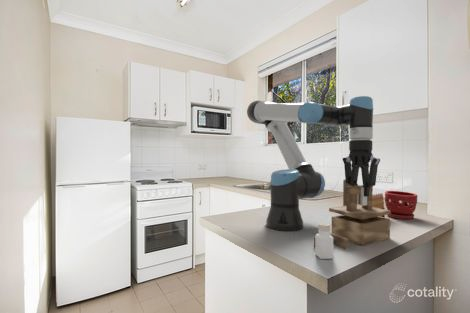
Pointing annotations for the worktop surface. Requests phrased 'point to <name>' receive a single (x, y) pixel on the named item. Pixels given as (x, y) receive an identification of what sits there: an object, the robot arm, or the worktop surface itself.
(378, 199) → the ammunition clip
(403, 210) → the plant pot
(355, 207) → the wooden post stand
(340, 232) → the open wooden box
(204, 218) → the worktop surface
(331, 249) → the pepper shaker
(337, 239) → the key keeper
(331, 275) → the worktop surface
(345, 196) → the wooden block
